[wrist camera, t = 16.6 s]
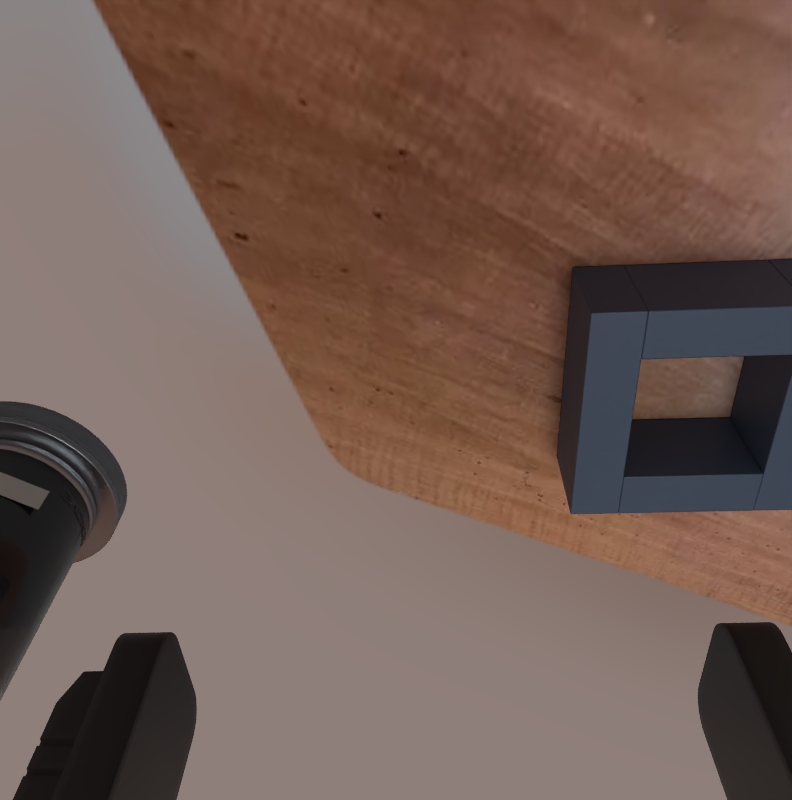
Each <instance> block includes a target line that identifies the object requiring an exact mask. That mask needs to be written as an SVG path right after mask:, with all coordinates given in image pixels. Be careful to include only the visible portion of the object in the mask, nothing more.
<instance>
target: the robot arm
mask: <svg viewBox="0 0 792 800" xmlns="http://www.w3.org/2000/svg"><path fill="white" fill-rule="evenodd" d="M95 520H96V506H95V502H94V498H93V496H92V493H91V491H90V490H89V488H88V486H87V485H86V483H85V482H84V480H83V479H82V478H81V477H80V476H79V474H78V473H77V472H76V471H75V470H74V469H72V468H71V467H70V466H69V465H68V464H66V463H65V462H64V461H62V460H61V459H59V458H58V457H56V456H55V455H53V454H51V453H49V452H47V451H45V450H43V449H41V448H38V447H36V446H33V445H30V444H27V443H24V442H19V441H15V440H9V439H0V700H1V698H2V697H3V694H4V693H5V691H6V689H7V687H8V685H9V683H10V681H11V679H12V677H13V675H14V674H15V672H16V670H17V668H18V666H19V664H20V662H21V660H22V659H23V656H24V655H25V653H26V651H27V649H28V647H29V645H30V643H31V641H32V640H33V637H34V636H35V634H36V632H37V630H38V628H39V626H40V624H41V622H42V621H43V619H44V617H45V614H46V613H47V611H48V609H49V607H50V605H51V603H52V601H53V599H54V598H55V596H56V594H57V592H58V590H59V588H60V586H61V584H62V582H63V581H64V579H65V577H66V575H67V573H68V571H69V569H70V567H71V565H72V564H73V562H74V560H75V558H76V556H77V554H78V552H79V550H80V548H81V546H82V545H83V544H84V543H85V542H86V540H87V538H88V537H89V535H90V533H91V531H92V529H93V526H94V524H95ZM698 706H699V714H700V719H701V724H702V728H703V731H704V734H705V737H706V740H707V743H708V745H709V748H710V751H711V754H712V757H713V760H714V763H715V765H716V768H717V771H718V774H719V777H720V780H721V783H722V785H723V788H724V791H725V794H726V797H727V800H792V652H791V650H790V648H789V646H788V644H787V642H786V640H785V638H784V636H783V634H782V632H781V631H780V630H779V628H778V627H777V626H776V625H775V624H773V623H770V622H762V623H761V622H760V623H720V624H717V625H716V626H715V628H714V631H713V634H712V638H711V642H710V646H709V649H708V653H707V657H706V661H705V664H704V668H703V672H702V676H701V679H700V683H699V688H698ZM195 724H196V696H195V691H194V688H193V685H192V682H191V679H190V676H189V673H188V670H187V667H186V664H185V660H184V657H183V655H182V652H181V648H180V645H179V642H178V639H177V637H176V635H175V634H174V633H172V632H166V633H165V632H163V633H124V634H122V635H120V637H119V638H118V639H117V641H116V642H115V644H114V647H113V649H112V651H111V654H110V656H109V659H108V661H107V664H106V666H105V669H104V671H93V672H83V673H82V674H81V676H80V677H79V678H78V679H77V680H76V681H75V682H74V684H73V685H72V686H71V687H70V688H69V689H68V690H67V692H66V693H65V694H64V695H63V696H62V697H61V698H60V699H59V701H58V702H57V703H56V705H55V707H54V709H53V712H52V714H51V716H50V718H49V721H48V723H47V725H46V727H45V729H44V732H43V734H42V736H41V738H40V740H41V743H40V745H39V746H37V747H36V749H35V752H34V754H33V756H32V758H31V760H30V763H29V765H28V767H27V774H26V776H24V777H23V778H22V780H21V783H20V785H19V787H18V789H17V792H16V794H15V796H14V798H13V800H176V799H177V795H178V792H179V788H180V784H181V780H182V777H183V773H184V769H185V765H186V762H187V758H188V754H189V750H190V747H191V743H192V739H193V735H194V730H195Z"/></svg>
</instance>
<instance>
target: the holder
mask: <svg viewBox="0 0 792 800" xmlns="http://www.w3.org/2000/svg"><path fill="white" fill-rule="evenodd" d="M729 356H745V359H744V363H743V368H742V372H741V376H740V380H739V384H738V388H737V393H736V397H735V401H734V405H733V409H732V414H731V418H700V419H663V420H632V416H633V409H634V403H635V396H636V389H637V383H638V376H639V369H640V362H641V359H664V358H696V357H729ZM557 459H558V463H559V467H560V471H561V475H562V480H563V484H564V488H565V492H566V496H567V500H568V505H569V509H570V513H571V514H604V513H651V512H701V511H751V510H792V259H783V260H768V261H767V260H759V261H733V262H706V263H679V264H653V265H626V266H622V265H621V266H595V267H573V269H572V281H571V293H570V305H569V317H568V329H567V341H566V353H565V365H564V377H563V389H562V401H561V413H560V425H559V437H558V449H557Z"/></svg>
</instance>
